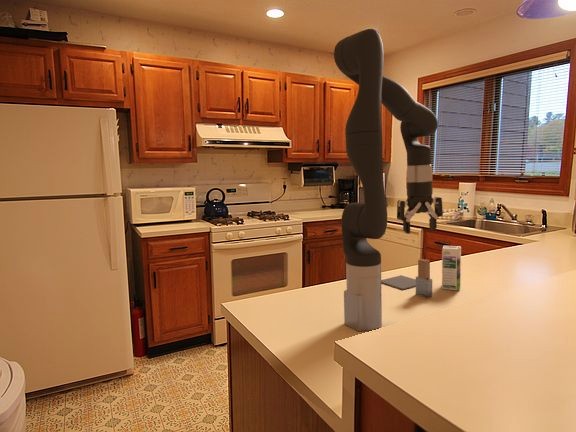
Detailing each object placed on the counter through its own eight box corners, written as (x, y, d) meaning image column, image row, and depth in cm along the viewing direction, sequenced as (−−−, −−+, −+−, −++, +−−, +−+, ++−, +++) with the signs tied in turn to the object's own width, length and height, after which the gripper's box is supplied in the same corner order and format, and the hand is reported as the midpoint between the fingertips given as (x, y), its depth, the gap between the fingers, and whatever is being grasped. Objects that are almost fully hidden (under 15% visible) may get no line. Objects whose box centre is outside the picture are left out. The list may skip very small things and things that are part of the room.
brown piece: (428, 298, 120) (428, 262, 119) (415, 294, 124) (415, 259, 123) (432, 297, 121) (432, 261, 120) (419, 293, 125) (419, 258, 124)
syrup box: (441, 289, 128) (441, 247, 127) (443, 284, 134) (443, 244, 132) (459, 291, 126) (460, 248, 124) (460, 286, 131) (461, 245, 129)
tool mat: (402, 290, 129) (402, 288, 129) (378, 282, 139) (378, 280, 139) (426, 283, 135) (426, 282, 135) (401, 276, 145) (401, 275, 145)
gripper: (404, 182, 109) (405, 236, 112) (447, 178, 112) (447, 231, 114) (392, 181, 117) (393, 232, 119) (433, 177, 119) (433, 227, 122)
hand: (420, 231), depth 117 cm, fingers open, 8 cm apart
